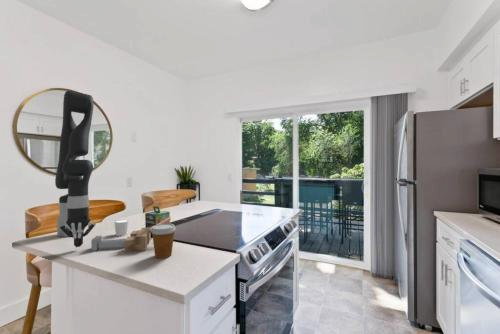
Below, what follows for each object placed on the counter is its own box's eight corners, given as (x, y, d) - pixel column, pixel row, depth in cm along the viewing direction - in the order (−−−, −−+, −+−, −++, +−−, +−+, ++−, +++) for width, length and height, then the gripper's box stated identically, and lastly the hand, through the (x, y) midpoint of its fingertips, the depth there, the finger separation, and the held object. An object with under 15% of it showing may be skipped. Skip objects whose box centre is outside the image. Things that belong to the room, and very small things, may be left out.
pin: (91, 251, 101) (91, 239, 101) (96, 247, 106) (96, 235, 106) (125, 248, 104) (125, 237, 104) (128, 244, 109) (128, 233, 109)
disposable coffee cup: (161, 262, 90) (161, 230, 90) (145, 256, 95) (145, 227, 95) (180, 254, 98) (180, 225, 98) (165, 249, 103) (165, 222, 103)
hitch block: (124, 252, 100) (124, 237, 100) (132, 241, 114) (132, 228, 114) (145, 250, 102) (145, 236, 102) (150, 239, 116) (150, 227, 116)
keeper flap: (149, 233, 107) (147, 231, 106) (150, 230, 111) (149, 228, 111) (171, 220, 109) (169, 218, 109) (171, 218, 114) (170, 215, 113)
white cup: (123, 236, 121) (123, 223, 121) (111, 235, 122) (111, 222, 122) (132, 232, 128) (132, 220, 128) (121, 232, 129) (121, 219, 129)
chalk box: (170, 233, 128) (170, 205, 128) (155, 237, 120) (155, 208, 120) (159, 230, 133) (159, 204, 133) (144, 234, 125) (144, 206, 125)
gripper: (98, 204, 107) (99, 242, 107) (64, 205, 103) (64, 244, 104) (92, 207, 100) (92, 248, 100) (55, 208, 96) (55, 250, 96)
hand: (78, 246), depth 102 cm, fingers closed
